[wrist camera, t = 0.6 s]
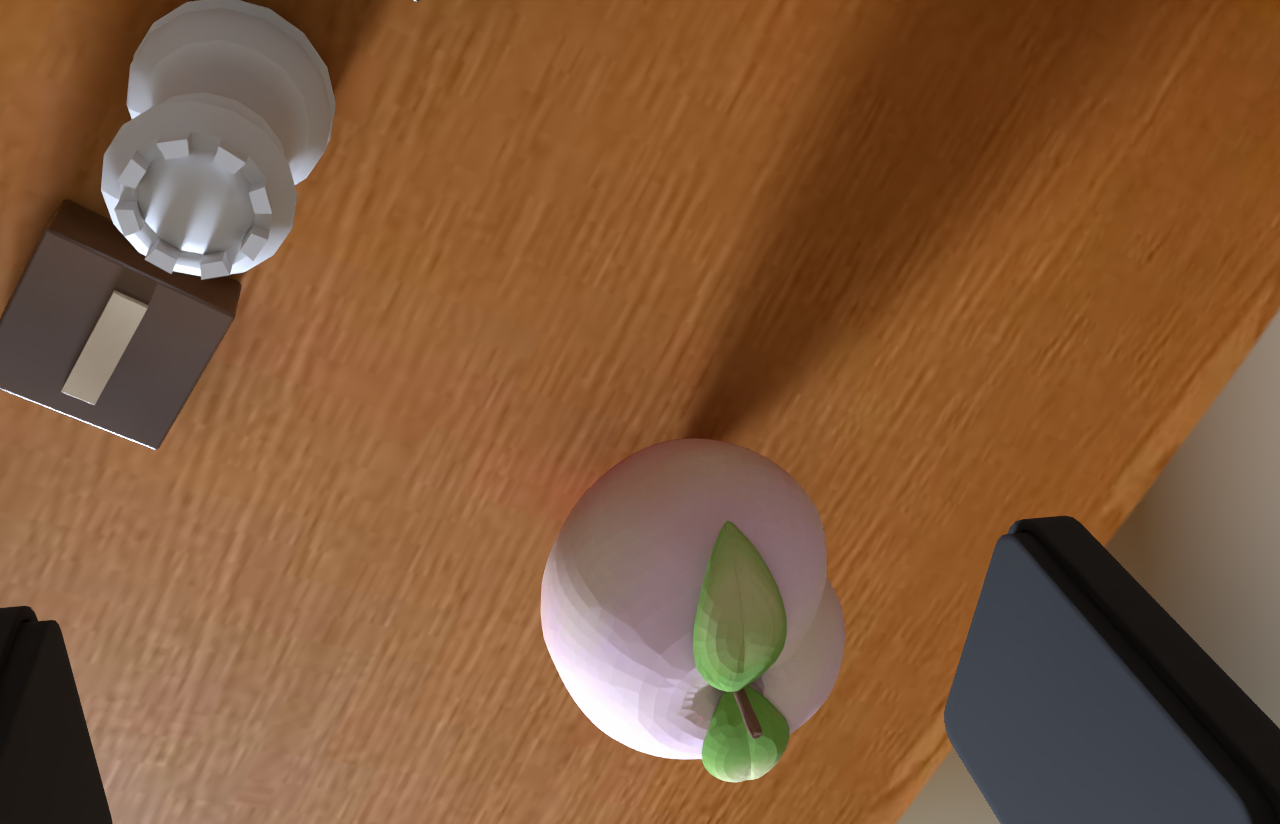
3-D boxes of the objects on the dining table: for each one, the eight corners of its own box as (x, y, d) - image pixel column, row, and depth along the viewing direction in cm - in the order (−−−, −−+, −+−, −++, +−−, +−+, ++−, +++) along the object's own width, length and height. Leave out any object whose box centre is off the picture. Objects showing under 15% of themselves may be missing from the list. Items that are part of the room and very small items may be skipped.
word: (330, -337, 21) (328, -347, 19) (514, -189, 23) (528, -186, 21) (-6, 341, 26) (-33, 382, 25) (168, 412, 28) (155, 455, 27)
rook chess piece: (145, 182, 25) (70, 328, 19) (121, -16, 23) (26, 70, 16) (339, 189, 26) (334, 329, 20) (333, 1, 24) (325, 87, 17)
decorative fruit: (475, 430, 31) (521, 673, 23) (736, 335, 31) (875, 540, 23) (570, 644, 36) (636, 905, 28) (792, 560, 36) (923, 793, 28)
